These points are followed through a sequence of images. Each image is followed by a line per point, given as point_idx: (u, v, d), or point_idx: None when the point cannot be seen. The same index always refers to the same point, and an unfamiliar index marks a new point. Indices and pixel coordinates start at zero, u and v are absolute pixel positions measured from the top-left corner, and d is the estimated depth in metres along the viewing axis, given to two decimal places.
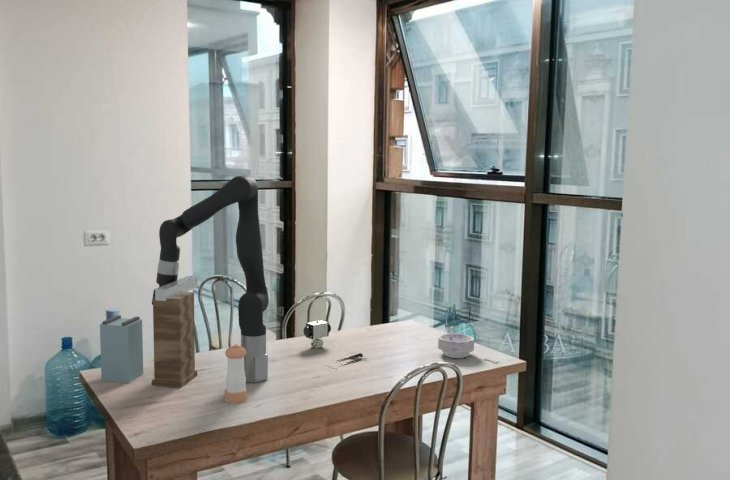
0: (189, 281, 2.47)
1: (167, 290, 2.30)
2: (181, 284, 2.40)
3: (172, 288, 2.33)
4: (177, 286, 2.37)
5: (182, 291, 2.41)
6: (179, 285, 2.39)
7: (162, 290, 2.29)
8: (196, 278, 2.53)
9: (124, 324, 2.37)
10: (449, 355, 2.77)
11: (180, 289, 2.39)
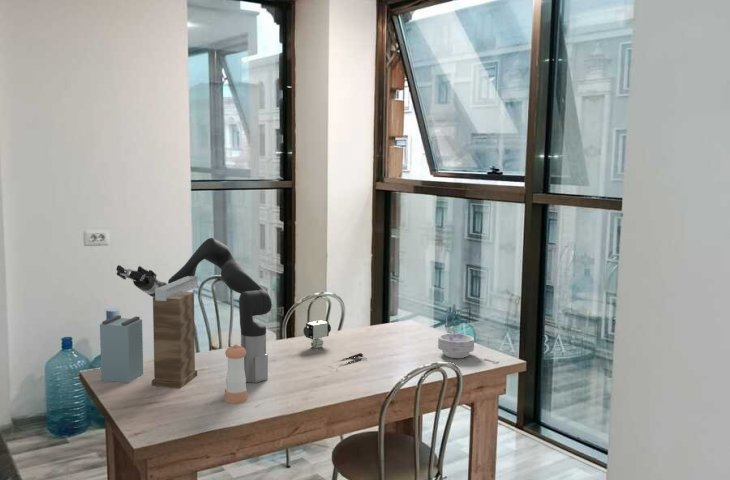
0: (189, 281, 2.47)
1: (167, 290, 2.30)
2: (181, 284, 2.40)
3: (172, 288, 2.33)
4: (177, 286, 2.37)
5: (182, 291, 2.41)
6: (179, 285, 2.39)
7: (162, 290, 2.29)
8: (196, 278, 2.53)
9: (124, 324, 2.37)
10: (449, 355, 2.77)
11: (180, 289, 2.39)
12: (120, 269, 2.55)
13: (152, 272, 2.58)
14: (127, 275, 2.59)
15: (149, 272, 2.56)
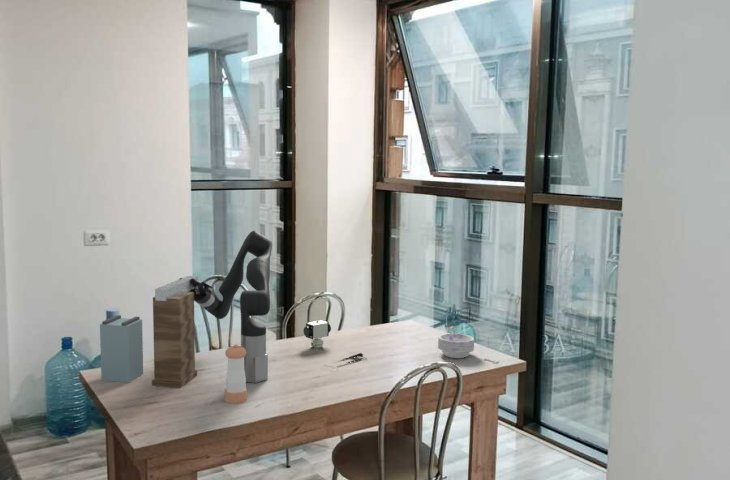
0: (189, 281, 2.47)
1: (167, 290, 2.30)
2: (181, 284, 2.40)
3: (172, 288, 2.33)
4: (177, 286, 2.37)
5: (182, 291, 2.41)
6: (179, 285, 2.39)
7: (162, 290, 2.29)
8: (196, 278, 2.53)
9: (124, 324, 2.37)
10: (449, 355, 2.77)
11: (180, 289, 2.39)
12: None
13: (205, 284, 2.53)
14: None
15: (201, 284, 2.52)
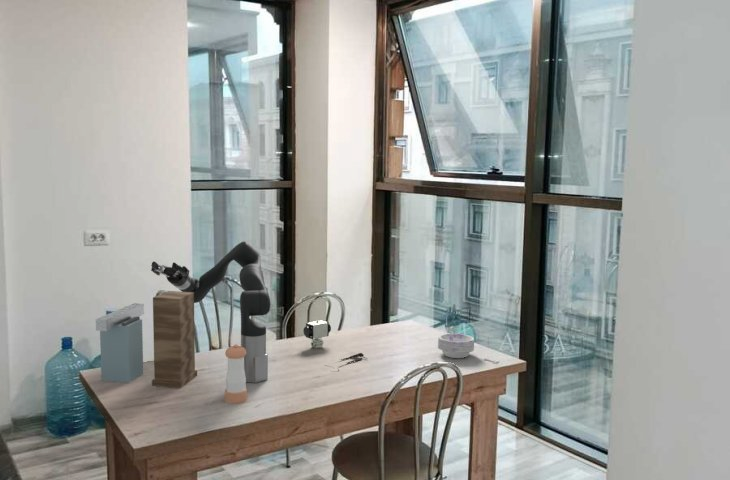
0: (134, 309, 2.48)
1: (108, 320, 2.30)
2: (124, 313, 2.41)
3: (114, 318, 2.34)
4: (120, 315, 2.38)
5: (126, 320, 2.42)
6: (122, 314, 2.40)
7: (102, 320, 2.29)
8: (142, 305, 2.54)
9: (124, 324, 2.37)
10: (449, 355, 2.77)
11: (123, 318, 2.40)
12: (155, 265, 2.64)
13: (185, 268, 2.67)
14: (161, 271, 2.68)
15: (183, 268, 2.65)
